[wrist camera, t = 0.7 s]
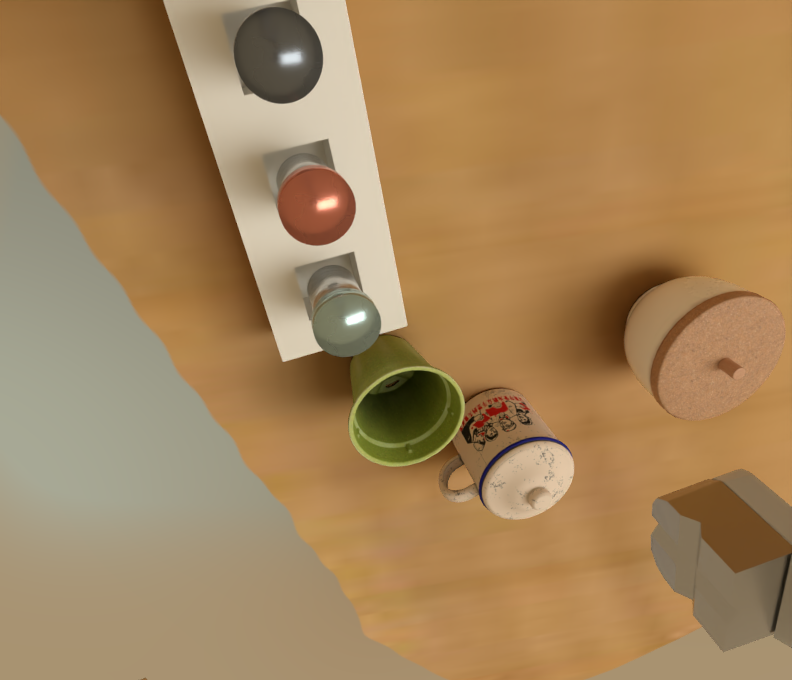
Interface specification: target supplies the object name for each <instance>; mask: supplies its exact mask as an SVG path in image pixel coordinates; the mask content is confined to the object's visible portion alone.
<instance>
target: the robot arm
mask: <svg viewBox="0 0 792 680" xmlns="http://www.w3.org/2000/svg"><path fill="white" fill-rule="evenodd" d="M652 516H653V517H654V518H655V519H656V521H657V522H658V523H659V524H658V525H657V527H656V528H655V530H654V531H653V532H652V534H651V550H652V553H653V556H654V559H655V562H656V565H657V567H658V568H659V570H660V572H661V574H662V575H663V577H664V579H665V580H666V581H667V583H668V584H669V585H670V586H671V588H672V589H673V590H674V591H675V592H677V593H679V594H681V595H683V596H685V597H688V598H690V599H692V601H693V615H694V617H695V618H696V619H697V620H698V622H699V623H700V624H701V625H702V627H703V628H704V629H705V630H706V632H707V633H708V634H709V635H710V636H711V638H712V639H713V640H714V641H715V643H716V644H717V645H718V646H719V648H720V649H721V650H722V651H723V652H725V651H728V650H730V649H733V648H736V647H739V646H742V645H745V644H747V643H750V642H753V641H756V640H759V639H761V638H764V637H767V636H770V635H773V634H774V638H775V639H777V640H779V641H781V642H782V643H784V644H786V645H788V646H789V647H791V648H792V507H791V506H790V505H789V504H788V503H786V502H785V501H784V500H783V499H782V498H780V497H779V496H778V495H777V494H776V493H774V492H773V491H772V490H771V489H770V488H769V487H767V486H766V485H765V484H764V483H763V482H761V481H760V480H759V479H758V478H757V477H755V476H754V475H753V474H752V473H750V472H749V471H746V470H743V469H738V470H735V471H732V472H729V473H727V474H724V475H721V476H718V477H716V478H713V479H707V480H704V481H702V482H699V483H696V484H694V485H691V486H688V487H685V488H683V489H680V490H677V491H675V492H672V493H669V494H666V495H664V496H661V497H658V498H657V499H656V500H655V501H654V503H653V507H652ZM141 680H147V679H146V678H144V679H141Z"/></svg>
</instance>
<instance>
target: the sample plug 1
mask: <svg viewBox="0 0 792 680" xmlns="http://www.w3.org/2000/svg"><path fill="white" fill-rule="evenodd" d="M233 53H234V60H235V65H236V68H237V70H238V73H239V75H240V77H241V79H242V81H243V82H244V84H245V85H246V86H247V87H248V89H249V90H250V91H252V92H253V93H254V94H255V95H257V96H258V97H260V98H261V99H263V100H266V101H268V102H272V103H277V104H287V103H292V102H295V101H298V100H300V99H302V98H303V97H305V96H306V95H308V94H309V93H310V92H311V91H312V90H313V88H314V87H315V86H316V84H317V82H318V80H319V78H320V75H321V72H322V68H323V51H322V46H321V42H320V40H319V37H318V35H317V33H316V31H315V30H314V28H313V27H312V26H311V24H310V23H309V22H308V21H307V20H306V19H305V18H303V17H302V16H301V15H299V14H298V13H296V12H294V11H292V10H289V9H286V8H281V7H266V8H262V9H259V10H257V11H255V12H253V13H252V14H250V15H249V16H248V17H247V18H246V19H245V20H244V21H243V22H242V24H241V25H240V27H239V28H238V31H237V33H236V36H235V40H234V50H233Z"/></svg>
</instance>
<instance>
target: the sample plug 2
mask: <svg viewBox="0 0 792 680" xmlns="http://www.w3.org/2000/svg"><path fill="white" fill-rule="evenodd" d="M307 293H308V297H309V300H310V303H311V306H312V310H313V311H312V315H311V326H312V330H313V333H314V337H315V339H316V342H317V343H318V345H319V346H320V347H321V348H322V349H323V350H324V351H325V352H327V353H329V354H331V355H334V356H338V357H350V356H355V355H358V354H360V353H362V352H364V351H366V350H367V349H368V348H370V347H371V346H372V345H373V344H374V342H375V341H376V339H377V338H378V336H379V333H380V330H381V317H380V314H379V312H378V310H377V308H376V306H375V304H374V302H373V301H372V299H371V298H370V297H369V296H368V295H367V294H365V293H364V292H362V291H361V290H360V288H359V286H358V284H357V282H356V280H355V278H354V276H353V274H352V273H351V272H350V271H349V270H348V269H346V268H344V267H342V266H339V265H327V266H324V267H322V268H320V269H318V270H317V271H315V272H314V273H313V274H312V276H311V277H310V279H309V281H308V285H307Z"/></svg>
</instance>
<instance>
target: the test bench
mask: <svg viewBox="0 0 792 680" xmlns="http://www.w3.org/2000/svg"><path fill="white" fill-rule="evenodd" d="M163 2H164V5H165V8H166V11H167V14H168V17H169V20H170V23H171V26H172V29H173V32H174V35H175V38H176V41H177V44H178V47H179V50H180V53H181V56H182V59H183V62H184V65H185V68H186V71H187V74H188V77H189V80H190V83H191V86H192V89H193V92H194V95H195V98H196V101H197V104H198V107H199V110H200V113H201V116H202V119H203V122H204V125H205V128H206V131H207V135H208V138H209V141H210V144H211V147H212V150H213V153H214V156H215V159H216V162H217V165H218V168H219V171H220V174H221V177H222V180H223V183H224V186H225V189H226V192H227V195H228V198H229V201H230V204H231V207H232V210H233V213H234V216H235V219H236V222H237V225H238V228H239V231H240V234H241V237H242V240H243V243H244V246H245V249H246V252H247V255H248V258H249V261H250V264H251V267H252V270H253V273H254V276H255V279H256V282H257V285H258V288H259V291H260V294H261V297H262V301H263V304H264V307H265V310H266V313H267V316H268V319H269V322H270V325H271V328H272V331H273V334H274V337H275V340H276V343H277V346H278V349H279V352H280V355H281V358H282V361H283V362H285V361H288V360H292V359H295V358H299V357H302V356H306V355H309V354H313V353H316V352H320V351H323V349H322V348H321V347H320V346H319V345H318V343H317V342H316V339H315V337H314V333H313V330H312V326H311V315H312V311H313V310H312V306H311V303H310V300H309V297H308V293H307V285H308V281H309V279H310V277H311V276H312V274H313V273H314V272H315V271H317V270H318V269H320V268H322V267H324V266H327V265H339V266H342V267H344V268H346V269H348V270H349V271H350V272H351V273H352V274H353V276H354V278H355V280H356V282H357V284H358V286H359V288H360V290H361V291H362V292H364V293H365V294H367V295H368V296H369V297H370V298H371V299H372V301H373V302H374V304H375V306H376V308H377V310H378V312H379V314H380V317H381V330H380V333H379V334H382V333H385V332H389V331H392V330H395V329H399V328H402V327H406V326H407V320H406V315H405V310H404V305H403V299H402V294H401V289H400V284H399V279H398V273H397V268H396V263H395V258H394V252H393V247H392V242H391V237H390V232H389V226H388V221H387V216H386V211H385V205H384V200H383V195H382V190H381V185H380V179H379V174H378V169H377V164H376V159H375V153H374V148H373V143H372V138H371V132H370V127H369V122H368V117H367V112H366V106H365V101H364V96H363V91H362V85H361V80H360V75H359V70H358V65H357V59H356V54H355V49H354V44H353V38H352V33H351V28H350V23H349V18H348V12H347V7H346V2H345V0H163ZM266 7H281V8H286V9H289V10H292V11H294V12H296V13H298V14H299V15H301V16H302V17H303V18H305V19H306V20H307V21H308V22H309V23H310V24H311V26H312V27H313V28H314V30H315V31H316V33H317V35H318V37H319V40H320V42H321V46H322V51H323V68H322V72H321V75H320V78H319V80H318V82H317V84H316V86H315V87H314V88H313V90H312V91H311V92H310V93H309V94H308V95H306V96H305V97H303V98H302V99H300V100H298V101H295V102H292V103H287V104H277V103H272V102H268V101H266V100H263V99H261V98H260V97H258V96H257V95H255V94H254V93H253V92H252V91H250V90H249V89H248V87H247V86H246V85H245V84H244V82H243V81H242V79H241V77H240V75H239V73H238V70H237V68H236V65H235V60H234V53H233V50H234V40H235V36H236V33H237V31H238V28H239V27H240V25H241V24H242V22H243V21H244V20H245V19H246V18H247V17H248V16H249V15H250V14H252V13H253V12H255V11H257V10H259V9H262V8H266ZM299 153H309V154H312V155H315V156H317V157H319V158H320V159H321V160H323V161H324V162H325V164H326V165H327V166H328V167H329V168H331V169H333V170H335V171H336V172H337V173H339V174H340V175H341V176H342V177H343V178H344V179H345V181H346V182H347V184H348V185H349V186H350V188H351V190H352V192H353V194H354V197H355V202H356V213H355V218H354V220H353V223H352V225H351V227H350V228H349V230H348V231H347V232H346V233H345V234H344V235H343V236H342V237H341V238H340V239H338V240H336V241H334V242H332V243H330V244H327V245H321V246H312V245H307V244H304V243H301V242H299V241H297V240H296V239H294V238H293V237H292V236H291V235H290V234H289V233H288V232H287V231H286V229H285V228H284V226H283V224H282V222H281V219H280V216H279V213H278V208H277V196H278V192H279V191H278V188H277V183H276V178H277V173H278V170H279V168H280V166H281V164H282V163H283V162H284V161H285V160H286V159H287V158H289V157H290V156H292V155H295V154H299Z"/></svg>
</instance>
